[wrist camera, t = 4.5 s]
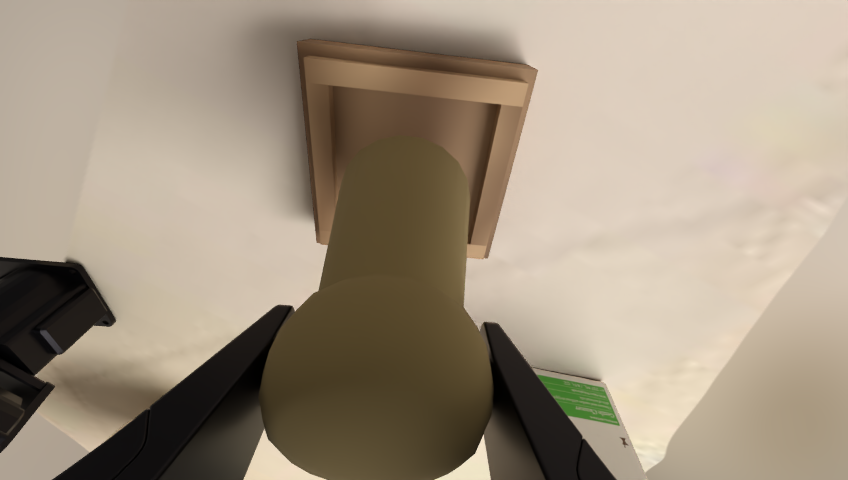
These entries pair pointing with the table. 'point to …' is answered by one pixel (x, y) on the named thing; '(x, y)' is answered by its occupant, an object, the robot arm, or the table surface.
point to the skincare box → (596, 421)
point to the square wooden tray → (412, 119)
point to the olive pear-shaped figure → (385, 330)
